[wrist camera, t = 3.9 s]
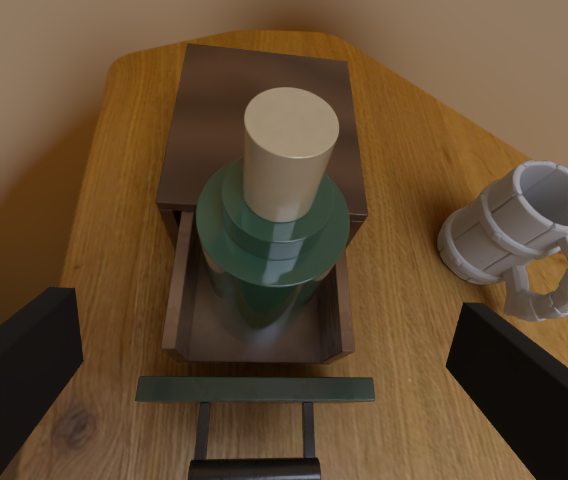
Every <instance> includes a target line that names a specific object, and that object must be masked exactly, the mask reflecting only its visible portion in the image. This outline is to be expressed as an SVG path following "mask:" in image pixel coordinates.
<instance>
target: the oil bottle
mask: <svg viewBox="0 0 568 480" xmlns="http://www.w3.org/2000/svg"><path fill="white" fill-rule="evenodd" d="M338 135H339V122H338V118H337V116H336V114H335V112H334V110H333V109H332V108H331V106H330V105H329V104H328V103H327V102H326V101H324V100H323V99H322V98H320V97H319V96H317V95H315V94H313V93H311V92H308V91H306V90H302V89H298V88H292V87H279V88H273V89H269V90H266V91H264V92H262V93H260V94H258V95H257V96H255V97H254V98H253V99H252V100H251V101H250V103H249V104H248V106H247V107H246V110H245V113H244V137H243V156H242V157H240V158H239V159H236V160H234V161H232V162H230V163H228V164H226V165H225V166H223V167H222V168H220V169H219V170H218V171H217V172H216V173H215V174H214V175H213V176H212V177H211V178H210V179H209V180H208V181H207V183H206V184H205V186H204V188H203V189H202V191H201V194H200V196H199V199H198V203H197V207H196V226H197V231H198V235H199V240H200V244H201V249H202V253H203V258H204V262H205V266H206V271H207V275H208V280H209V284H210V288H211V293H212V297H213V302H214V306H215V311H216V314H217V317H218V320H219V322H220V324H221V325H222V326H223V328H224V329H225V330H226V331H227V332H228V333H229V334H230V335H231V336H233V337H234V338H236V339H237V340H240V341H242V342H245V343H249V344H267V343H271V342H274V341H276V340H278V339H280V338H282V337H283V336H284V335H286V334H287V333H288V332H289V331H290V330H291V329H292V327H293V326H294V325H295V323H296V322H297V320H298V319H299V317H300V316H301V314H302V313H303V311H304V310H305V308H306V307H307V305H308V304H309V302H310V301H311V299H312V298H313V296H314V295H315V293H316V292H317V290H318V289H319V287H320V286H321V284H322V283H323V281H324V280H325V278H326V277H327V275H328V274H329V272H330V271H331V269H332V268H333V266H334V265H335V263H336V262H337V260H338V259H339V257H340V256H341V254H342V252H343V250H344V249H345V247H346V244H347V241H348V237H349V231H350V218H349V211H348V208H347V204H346V202H345V199H344V197H343V195H342V193H341V192H340V190H339V188H338V187H337V186H336V184H335V183H334V182H333V181H332V180H331V179H330V178H329V177H328V176H327V174H326V173H325V171H326V168H327V165H328V162H329V160H330V157H331V154H332V152H333V149H334V146H335V143H336V141H337V138H338Z"/></svg>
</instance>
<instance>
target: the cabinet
mask: <svg viewBox="0 0 568 480" xmlns="http://www.w3.org/2000/svg"><path fill="white" fill-rule="evenodd" d="M279 87H292V88H298V89H302V90H306V91H308V92H311V93H313V94H315V95H317V96H319V97H320V98H322V99H323V100H324V101H326V102H327V103H328V104H329V105H330V106H331V108H332V109H333V110H334V112H335V114H336V116H337V118H338V122H339V135H338V138H337V141H336V143H335V146H334V149H333V152H332V154H331V157H330V160H329V162H328V165H327V168H326V171H325V173H326V174H327V176H328V177H329V178H330V179H331V180H332V181H333V182H334V183H335V184H336V186H337V187H338V188H339V190H340V192H341V193H342V195H343V197H344V199H345V202H346V204H347V208H348V211H349V218H350V231H349V237H348V241H347V244H346V247H345V249H346V248H347V246H348V245H349V243H350V242H351V240H352V239H353V237H354V236H355V234H356V233H357V231H358V230H359V228H360V227H361V225H362V224H363V222H364V221H365V219H366V218H367V216H368V211H367V204H366V196H365V189H364V181H363V174H362V166H361V159H360V151H359V144H358V136H357V129H356V122H355V114H354V107H353V99H352V92H351V84H350V77H349V69H348V62H347V61H340V60H331V59H322V58H314V57H305V56H296V55H287V54H278V53H270V52H261V51H252V50H243V49H234V48H225V47H217V46H208V45H199V44H190V43H188V44H187V48H186V53H185V58H184V63H183V68H182V73H181V78H180V83H179V88H178V93H177V98H176V103H175V108H174V113H173V118H172V123H171V128H170V133H169V138H168V143H167V148H166V153H165V158H164V164H163V169H162V174H161V179H160V184H159V189H158V194H157V199H156V204H157V206H158V209H159V212H160V214H161V217H162V219H163V222H164V224H165V227H166V229H167V232H168V234H169V237H170V239H171V242H172V244H173V247H174V249H175V252H176V246H177V239H178V233H179V226H180V220H181V214H182V211H196V207H197V203H198V199H199V196H200V194H201V191H202V189H203V188H204V186H205V184H206V183H207V181H208V180H209V179H210V178H211V177H212V176H213V175H214V174H215V173H216V172H217V171H218V170H219V169H220V168H222V167H223V166H225V165H226V164H228V163H230V162H232V161H234V160H236V159H239V158H240V157H242V156H243V137H244V113H245V110H246V107H247V106H248V104H249V103H250V101H251V100H252V99H253V98H254V97H255V96H257V95H258V94H260V93H262V92H264V91H266V90H269V89H273V88H279Z"/></svg>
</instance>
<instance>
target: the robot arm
mask: <svg viewBox="0 0 568 480" xmlns="http://www.w3.org/2000/svg"><path fill="white" fill-rule="evenodd" d="M83 361H84V360H83V352H82V343H81V335H80V326H79V318H78V309H77V301H76V292H75V288H55V287H49V288H47V289H46V290H45V291H44V292H42V293H41V294H40V295H39V296H37V297H36V298H35V299H34V300H32V301H31V302H30V303H28V304H27V305H26V306H25V307H23V308H22V309H21V310H19V311H18V312H17V313H16V314H14V315H13V316H12V317H10V318H9V319H8V320H7V321H5V322H4V323H3V324H1V325H0V475H1V474H2V472H3V471H4V470H5V468H6V467H7V466H8V464H9V463H10V461H11V460H12V459H13V457H14V456H15V454H16V453H17V452H18V451H19V449H20V448H21V446H22V445H23V444H24V442H25V441H26V440H27V438H28V437H29V435H30V434H31V433H32V431H33V430H34V429H35V427H36V426H37V424H38V423H39V422H40V420H41V419H42V418H43V416H44V415H45V413H46V412H47V411H48V409H49V408H50V407H51V405H52V404H53V402H54V401H55V400H56V398H57V397H58V396H59V394H60V393H61V391H62V390H63V389H64V387H65V386H66V385H67V383H68V382H69V380H70V379H71V378H72V376H73V375H74V374H75V372H76V371H77V369H78V368H79V367H80V365H81V364H82V363H83ZM446 368H447V369H448V370H449V371H450V373H451V374H452V375H453V376H454V378H455V379H456V380H457V381H458V383H459V384H460V385H461V386H462V388H463V389H464V390H465V391H466V393H467V394H468V395H469V396H470V398H471V399H472V400H473V401H474V403H475V404H476V405H477V406H478V408H479V409H480V410H481V411H482V413H483V414H484V415H485V416H486V418H487V419H488V420H489V421H490V423H491V424H492V425H493V426H494V428H495V429H496V430H497V431H498V432H499V434H500V435H501V436H502V437H503V439H504V440H505V441H506V442H507V444H508V445H509V446H510V447H511V449H512V450H513V451H514V452H515V454H516V455H517V456H518V457H519V459H520V460H521V461H522V462H523V464H524V465H525V466H526V467H527V469H528V470H529V471H530V472H531V474H532V475H533V476H534V477H535V479H536V480H568V368H567V367H566V366H565V365H564V364H562V363H561V362H560V361H558V360H557V359H556V358H554V357H553V356H552V355H550V354H549V353H548V352H547V351H545V350H544V349H543V348H541V347H540V346H539V345H537V344H536V343H535V342H533V341H532V340H531V339H530V338H528V337H527V336H526V335H524V334H523V333H522V332H520V331H519V330H518V329H516V328H515V327H514V326H513V325H511V324H510V323H509V322H507V321H506V320H505V319H503V318H502V317H501V316H499V315H498V314H497V313H496V312H494V311H493V310H492V309H490V308H489V307H488V306H486V305H485V304H484V303H466V302H463V306H462V309H461V313H460V316H459V320H458V324H457V327H456V331H455V334H454V338H453V341H452V345H451V348H450V352H449V356H448V359H447V363H446Z"/></svg>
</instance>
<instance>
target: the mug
mask: <svg viewBox="0 0 568 480" xmlns="http://www.w3.org/2000/svg"><path fill="white" fill-rule="evenodd" d="M437 247H438V251H440V256H441V258H442V260H443V262H444V263H445V264H446V265H447V266H448V267H449V268H450V270H451V271H452V272H454V273H455V274H456V275H457V276H458V277H460V278H461V279H463V280H466V281H467V282H470V283H473V284H480V285H485V284H494V283H500V282H504V281H505V283H506V291H507V296H506V301H505V305H504V313H505V314H506V315H509V316H516V317H517V318H518V319H521V320H526V321H532V322H536V321H543V320H545V319H557V318H561V317H564V316H566V315H568V269H566V272H565V274H564V276H563V278H562V279H561V281H560V283H559V287H558V288H557V290H556V291H552V292H550V293H548V294H546V295H542V294H538V293H535V292H533V291H531V290H529V281H528V274H527V271H526V268H525V265H527V264H529V263H531V262H533V261H534V260H538V259H543V258H545V257H548V256H550V255H552V254H554V253H556V252H558V251H559V250H561V251H562V252H563V254H564V255H565V257H566V259H567V261H568V169H567V168H566V167H563V166H561V165H556V163H552V162H548V161H542V162H537V161H526V162H523V163H521V164H520V165H518V166H517V167H516V168H514V169H513V170H512V171H511V172H509V173H508V174H507V175H506V176H504V177H503V178H502V179H498V180H496V181H494V182H492V183H491V184H489V185H488V186H487V187H486V188H485V189H483V191H482V192H481V193H480V195H479V196H478V197H477V199H475V200H474V201H473V202H472V203H470V204H469V205H468V206H467V207H463V208H460V209H458V210H456V211H455V212H453V213H452V214H451V215H449V217H448V218H447V219H446V220H445V222H444V223H443V225H442V228H441V230H440V232H439V234H438V237H437Z"/></svg>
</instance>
